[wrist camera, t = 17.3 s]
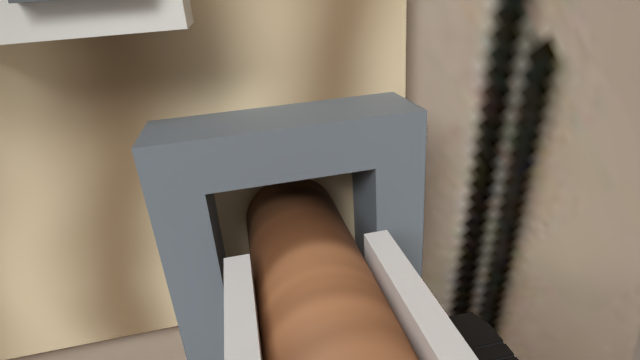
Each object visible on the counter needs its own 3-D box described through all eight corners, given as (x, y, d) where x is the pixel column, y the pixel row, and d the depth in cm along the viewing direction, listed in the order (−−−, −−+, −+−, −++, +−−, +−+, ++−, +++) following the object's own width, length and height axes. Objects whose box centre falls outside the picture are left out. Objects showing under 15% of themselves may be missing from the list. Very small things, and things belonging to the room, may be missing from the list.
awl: (239, 184, 16) (301, 829, 4) (331, 170, 17) (659, 687, 4) (252, 263, 18) (328, 918, 5) (337, 248, 18) (592, 804, 6)
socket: (196, 322, 19) (191, 377, 16) (147, 120, 15) (131, 148, 12) (393, 283, 20) (419, 328, 17) (392, 91, 16) (427, 110, 14)
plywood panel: (-118, 367, 17) (-136, 387, 16) (-489, -194, 10) (-559, -213, 9) (395, 269, 21) (403, 281, 20) (396, -197, 14) (408, -211, 13)
